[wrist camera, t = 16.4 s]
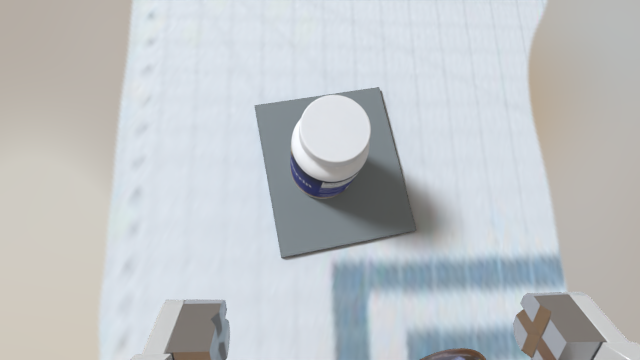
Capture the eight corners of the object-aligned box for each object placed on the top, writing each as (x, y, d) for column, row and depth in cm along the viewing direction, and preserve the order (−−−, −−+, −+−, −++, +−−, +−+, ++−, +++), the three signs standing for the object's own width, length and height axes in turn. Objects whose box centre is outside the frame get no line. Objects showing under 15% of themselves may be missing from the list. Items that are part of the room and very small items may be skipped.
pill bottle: (281, 150, 34) (279, 100, 25) (339, 130, 35) (359, 76, 26) (303, 209, 33) (310, 181, 23) (363, 187, 34) (393, 152, 24)
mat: (414, 230, 34) (416, 230, 34) (281, 257, 32) (281, 257, 32) (377, 89, 37) (379, 87, 37) (254, 107, 35) (254, 105, 35)
